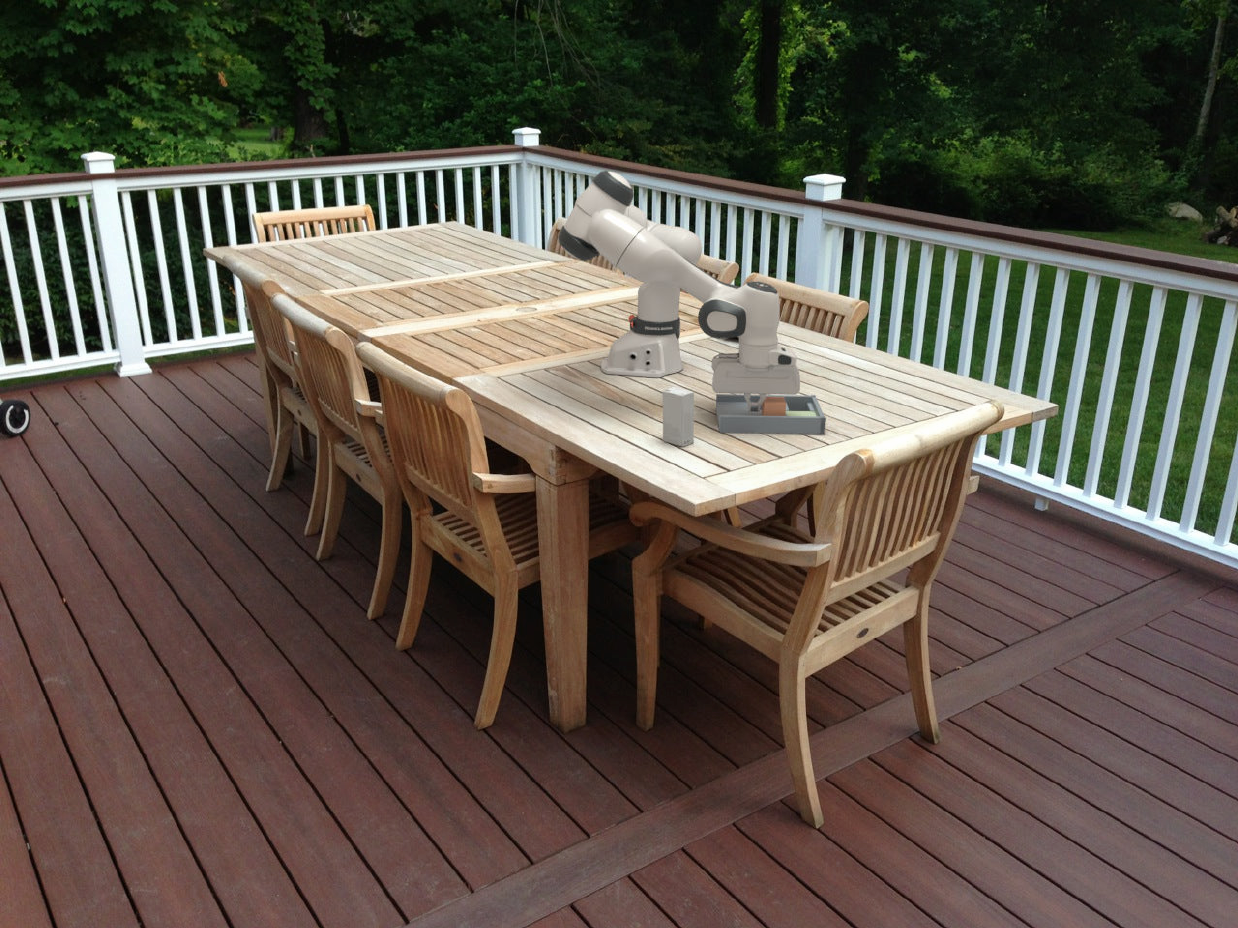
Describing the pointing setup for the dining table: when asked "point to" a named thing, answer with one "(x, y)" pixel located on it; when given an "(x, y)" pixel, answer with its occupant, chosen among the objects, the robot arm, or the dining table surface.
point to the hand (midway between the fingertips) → (754, 411)
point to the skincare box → (678, 416)
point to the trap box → (798, 419)
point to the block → (774, 406)
